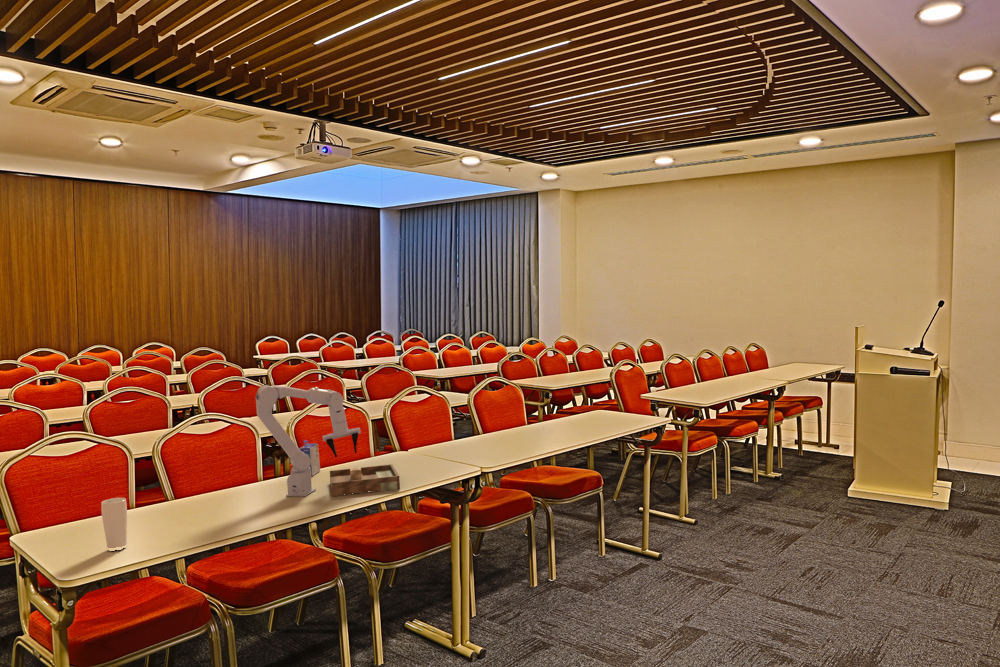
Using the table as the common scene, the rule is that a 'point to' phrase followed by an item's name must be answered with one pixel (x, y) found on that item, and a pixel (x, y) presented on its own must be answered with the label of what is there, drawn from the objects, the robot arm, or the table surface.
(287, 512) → the table surface
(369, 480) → the box
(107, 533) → the drinking glass
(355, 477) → the block
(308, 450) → the ink cartridge box
